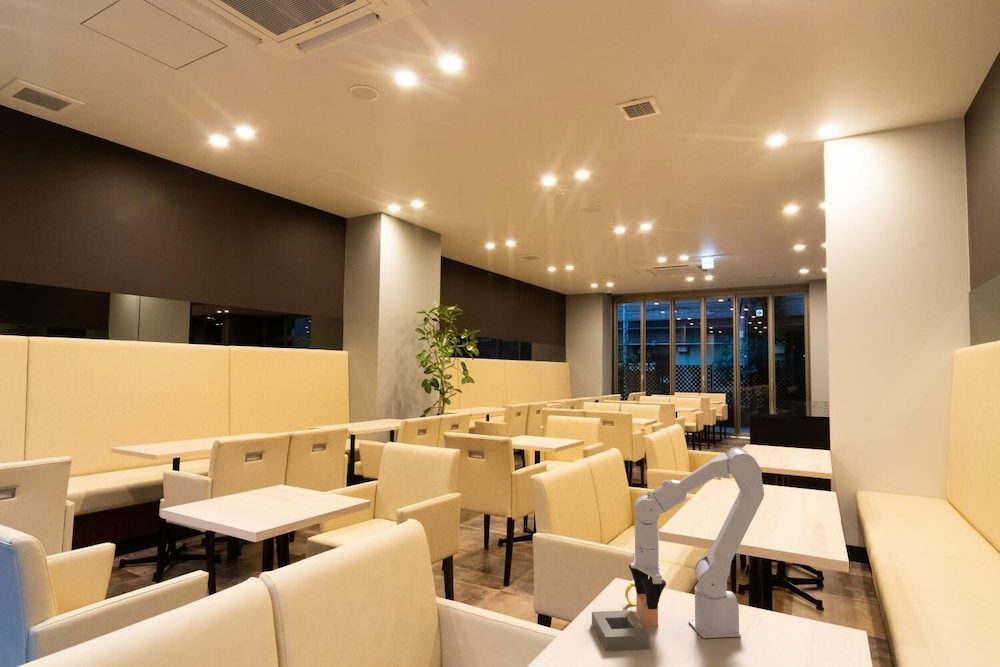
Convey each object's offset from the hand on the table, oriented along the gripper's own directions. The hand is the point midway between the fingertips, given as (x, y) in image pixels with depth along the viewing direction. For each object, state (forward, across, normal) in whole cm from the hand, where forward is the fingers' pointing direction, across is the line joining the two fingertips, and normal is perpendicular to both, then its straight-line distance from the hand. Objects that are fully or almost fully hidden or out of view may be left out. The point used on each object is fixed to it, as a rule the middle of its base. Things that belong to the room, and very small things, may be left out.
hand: (646, 601), depth 134 cm
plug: (+5, 0, 0) cm, 5 cm away
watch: (+5, -9, +1) cm, 11 cm away
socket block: (+5, +6, -9) cm, 12 cm away
